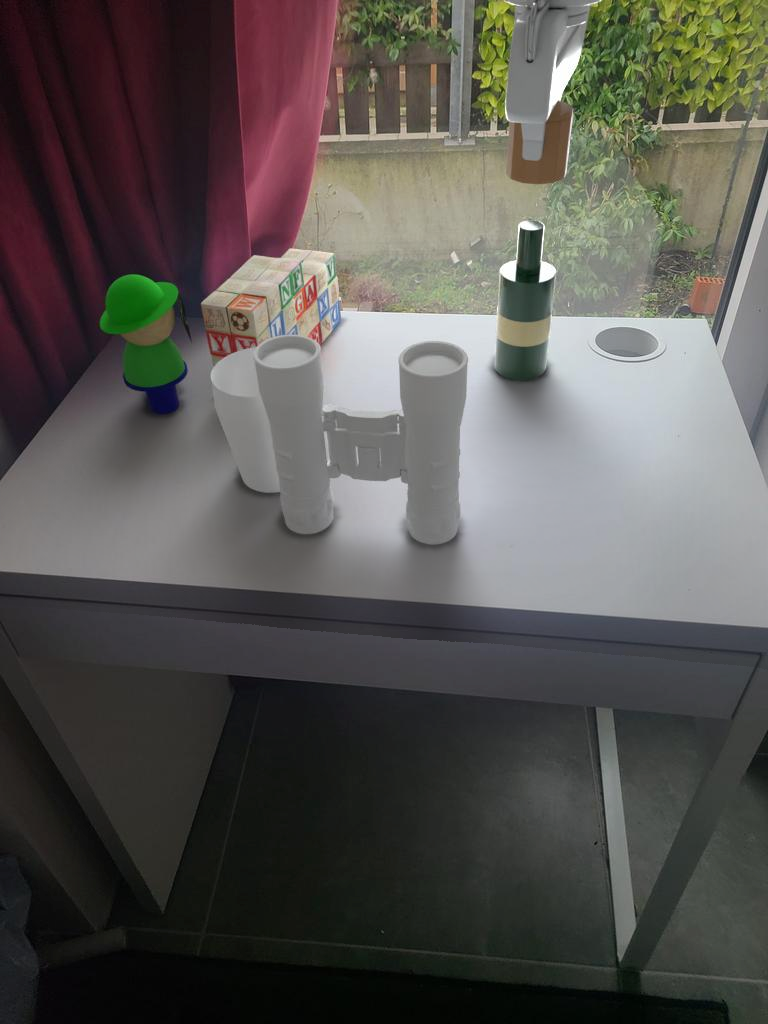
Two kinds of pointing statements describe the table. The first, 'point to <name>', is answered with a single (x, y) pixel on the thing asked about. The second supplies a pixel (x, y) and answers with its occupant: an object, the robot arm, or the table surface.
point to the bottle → (525, 308)
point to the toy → (147, 337)
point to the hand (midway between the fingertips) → (539, 145)
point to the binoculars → (366, 434)
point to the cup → (245, 420)
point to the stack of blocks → (273, 302)
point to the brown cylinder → (554, 153)
